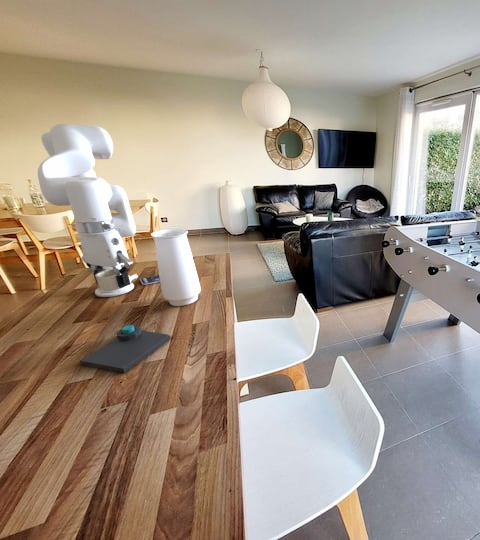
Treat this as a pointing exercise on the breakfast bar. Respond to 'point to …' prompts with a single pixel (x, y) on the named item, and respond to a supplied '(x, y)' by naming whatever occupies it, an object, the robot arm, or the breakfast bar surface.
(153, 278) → the smartphone
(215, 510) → the breakfast bar surface
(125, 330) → the tare button
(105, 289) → the bowl
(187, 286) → the vase
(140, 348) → the scale
